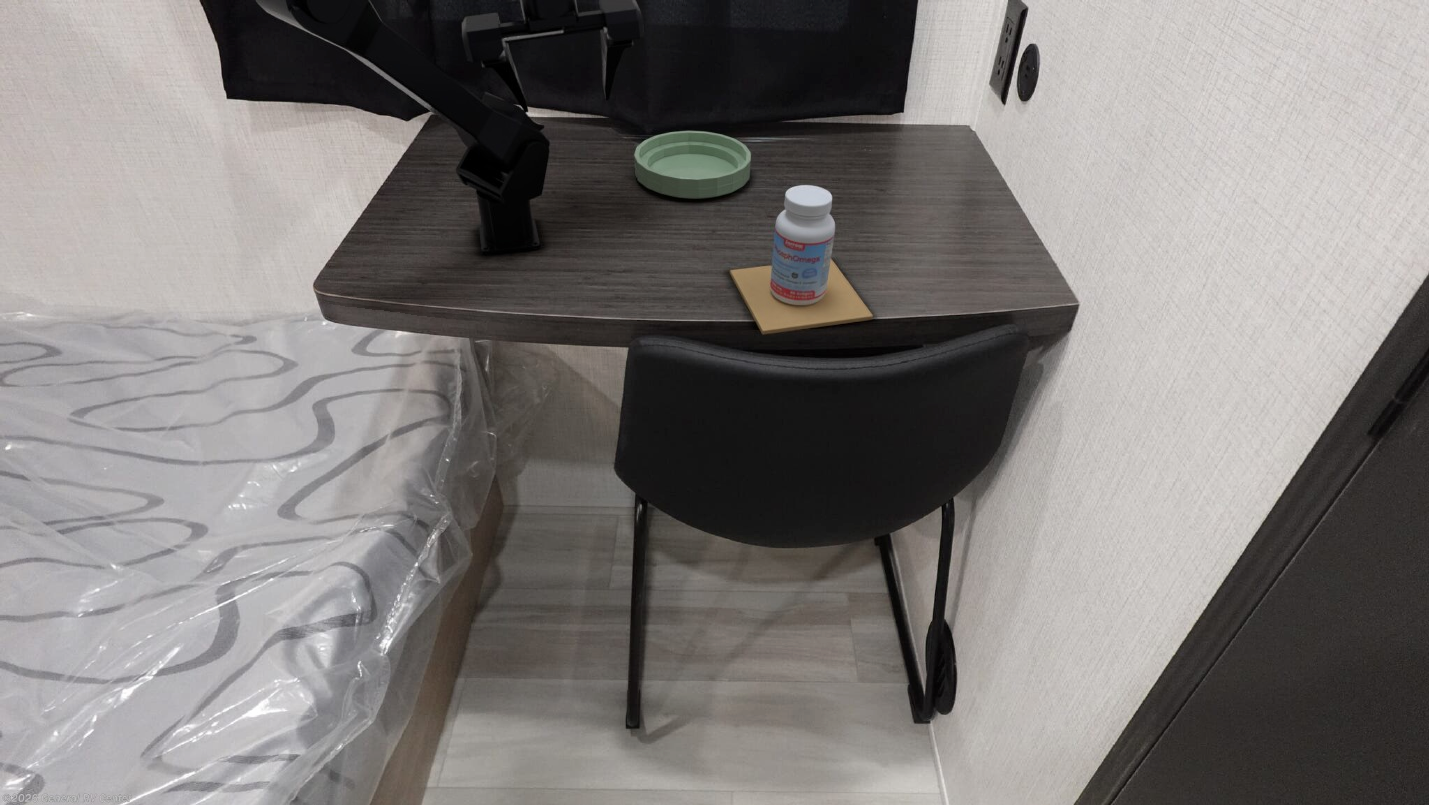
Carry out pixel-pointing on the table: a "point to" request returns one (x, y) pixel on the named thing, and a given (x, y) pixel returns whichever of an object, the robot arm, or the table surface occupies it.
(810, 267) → the pill bottle
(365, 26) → the robot arm
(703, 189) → the dish
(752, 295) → the cork mat
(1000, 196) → the table surface
